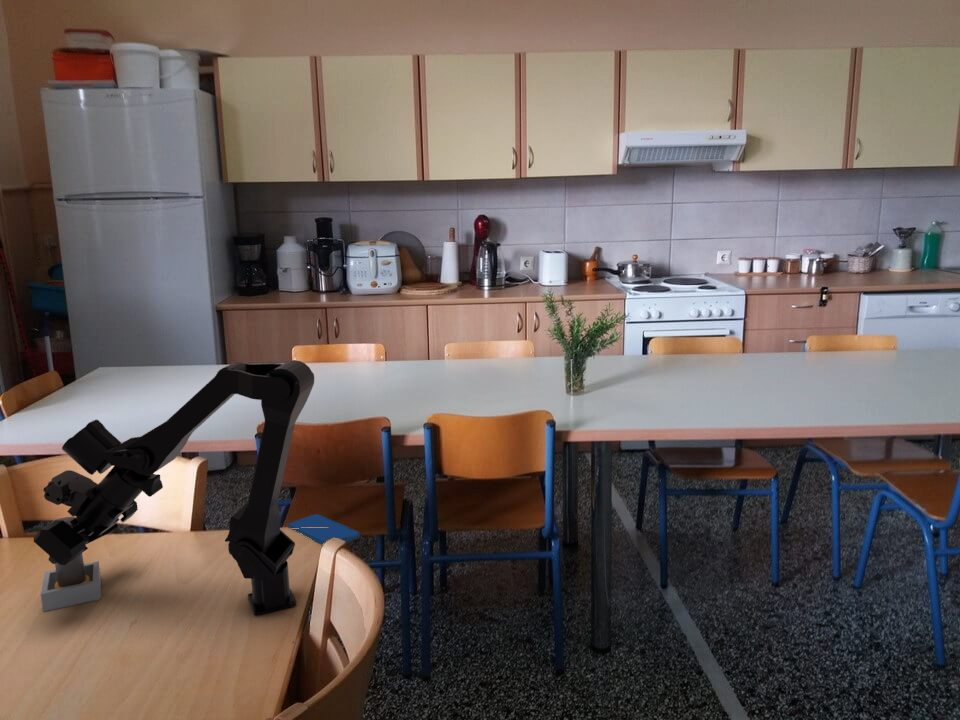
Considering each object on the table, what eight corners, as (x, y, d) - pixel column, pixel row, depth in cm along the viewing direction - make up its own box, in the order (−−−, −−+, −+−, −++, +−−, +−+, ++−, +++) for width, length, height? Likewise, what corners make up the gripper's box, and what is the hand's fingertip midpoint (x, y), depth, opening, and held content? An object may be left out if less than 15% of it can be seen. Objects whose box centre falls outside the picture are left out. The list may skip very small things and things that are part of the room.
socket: (100, 599, 119) (98, 582, 118) (43, 611, 116) (40, 594, 115) (100, 577, 126) (98, 561, 125) (47, 588, 123) (44, 572, 122)
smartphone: (317, 513, 150) (362, 533, 140) (317, 517, 151) (362, 537, 140) (285, 524, 145) (329, 546, 135) (285, 529, 145) (330, 550, 135)
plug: (90, 595, 120) (80, 524, 117) (55, 603, 118) (44, 531, 115) (91, 582, 124) (81, 513, 122) (57, 589, 122) (46, 519, 119)
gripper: (112, 439, 125) (60, 499, 128) (36, 479, 106) (-22, 548, 110) (161, 483, 125) (108, 542, 129) (94, 531, 107) (34, 598, 111)
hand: (60, 555), depth 120 cm, fingers closed on plug, 4 cm apart
